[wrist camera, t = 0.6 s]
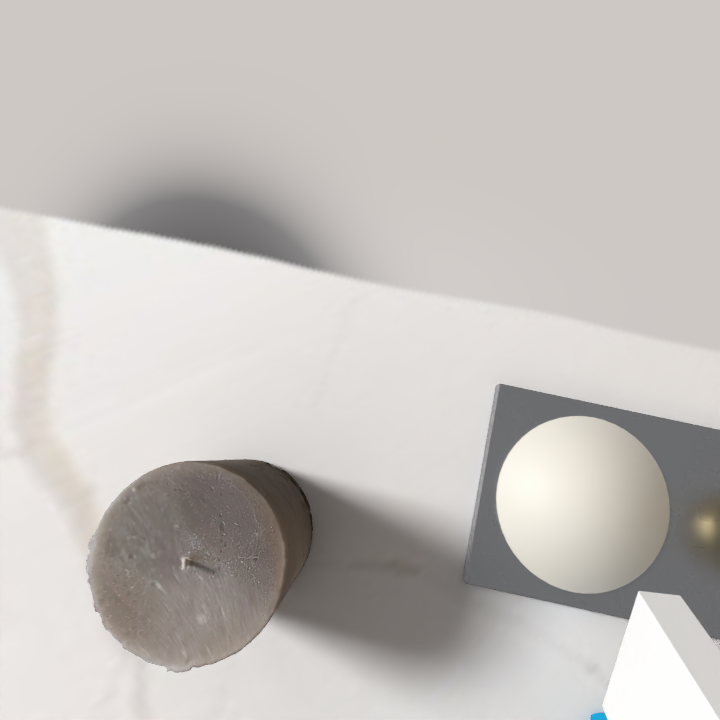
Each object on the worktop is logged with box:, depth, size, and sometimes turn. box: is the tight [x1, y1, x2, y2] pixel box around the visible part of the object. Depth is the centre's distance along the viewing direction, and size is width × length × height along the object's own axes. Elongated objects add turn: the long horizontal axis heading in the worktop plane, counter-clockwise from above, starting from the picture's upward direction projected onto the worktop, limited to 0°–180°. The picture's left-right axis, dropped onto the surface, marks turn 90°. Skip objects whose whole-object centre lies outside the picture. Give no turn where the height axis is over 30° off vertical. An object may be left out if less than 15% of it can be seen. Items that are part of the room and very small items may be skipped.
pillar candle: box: [86, 459, 313, 672], centre depth 34 cm, size 10×10×15 cm
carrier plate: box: [462, 384, 720, 639], centre depth 38 cm, size 26×14×7 cm, turn 78°
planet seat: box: [496, 416, 670, 594], centre depth 40 cm, size 12×12×1 cm
